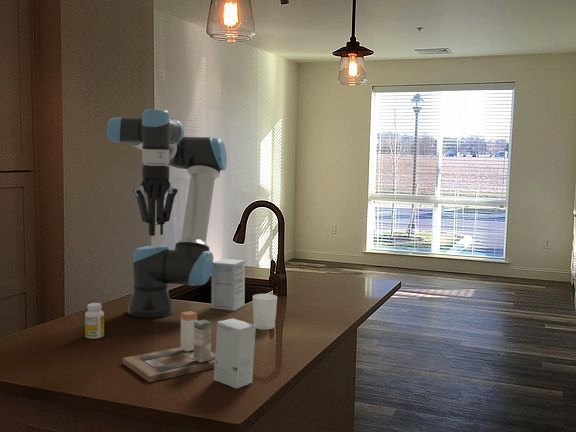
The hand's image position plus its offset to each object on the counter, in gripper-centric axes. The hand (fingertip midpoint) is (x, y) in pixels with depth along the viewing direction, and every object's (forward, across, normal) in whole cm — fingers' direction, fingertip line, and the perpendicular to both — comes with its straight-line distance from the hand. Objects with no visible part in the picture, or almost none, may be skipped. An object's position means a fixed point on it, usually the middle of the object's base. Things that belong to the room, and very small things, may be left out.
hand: (155, 246), depth 180 cm
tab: (+26, +2, -17) cm, 31 cm away
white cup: (+29, +36, -5) cm, 46 cm away
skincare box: (+28, +2, -40) cm, 49 cm away
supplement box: (+29, +39, +23) cm, 54 cm away
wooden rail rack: (+28, -5, -21) cm, 35 cm away
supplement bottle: (+28, -13, +14) cm, 34 cm away
